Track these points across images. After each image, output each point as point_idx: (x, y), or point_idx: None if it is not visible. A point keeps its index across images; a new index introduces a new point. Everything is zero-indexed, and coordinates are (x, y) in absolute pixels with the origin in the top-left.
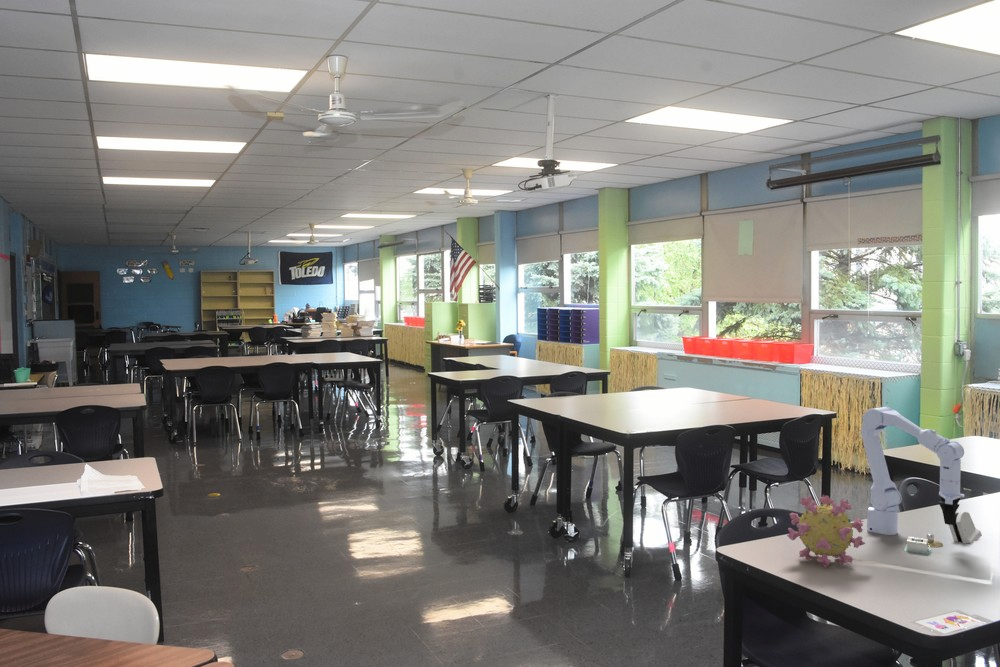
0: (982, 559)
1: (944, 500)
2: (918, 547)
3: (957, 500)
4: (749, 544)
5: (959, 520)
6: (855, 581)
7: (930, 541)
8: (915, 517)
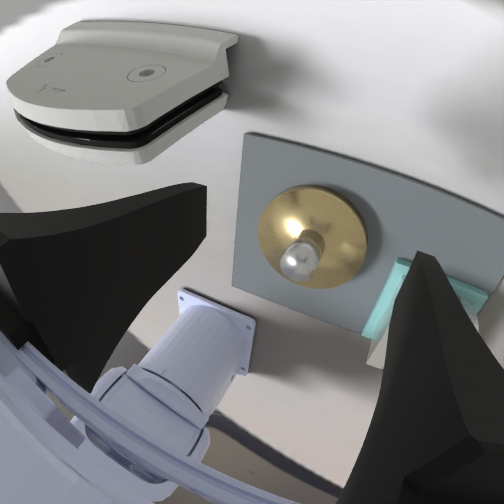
0: (467, 33)
1: (96, 353)
2: None
3: (37, 258)
4: None
5: (112, 114)
6: None
7: (322, 251)
8: (34, 199)
